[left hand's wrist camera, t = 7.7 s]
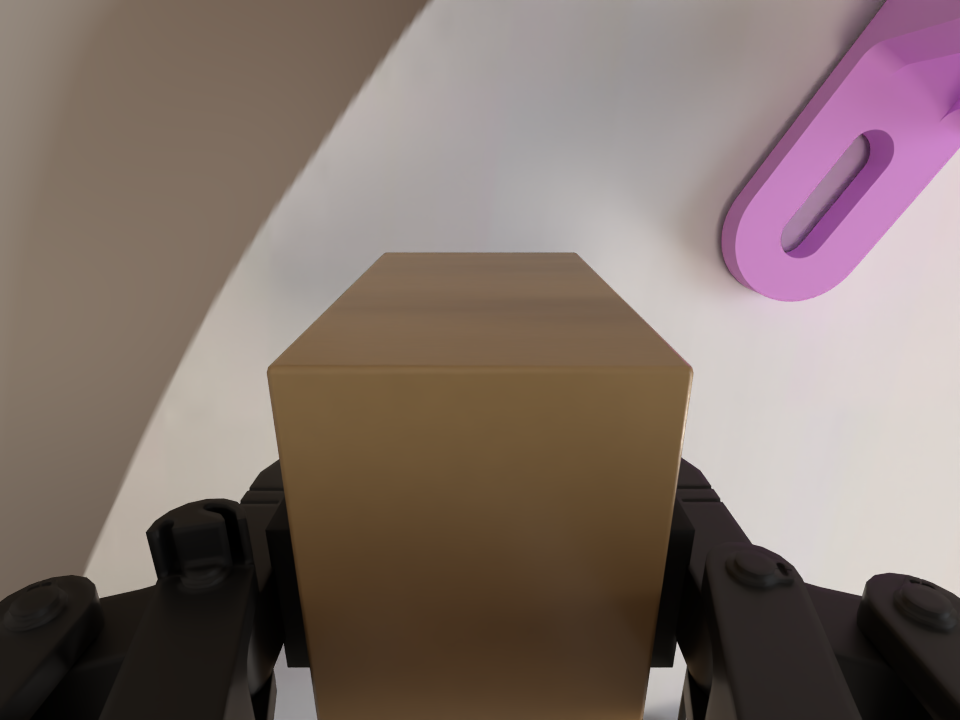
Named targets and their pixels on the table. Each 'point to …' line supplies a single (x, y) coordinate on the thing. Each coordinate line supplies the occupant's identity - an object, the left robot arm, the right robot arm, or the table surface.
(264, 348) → the table surface
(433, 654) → the bar
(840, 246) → the bracket
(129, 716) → the left robot arm
